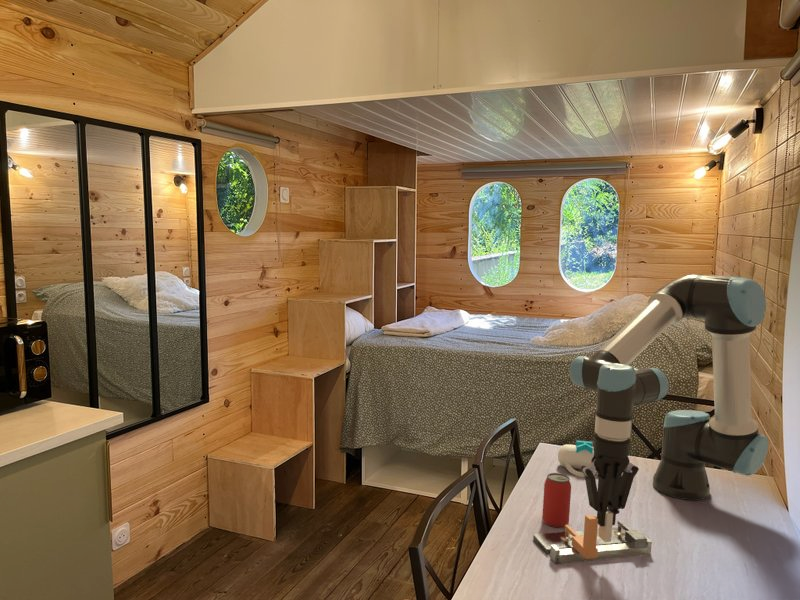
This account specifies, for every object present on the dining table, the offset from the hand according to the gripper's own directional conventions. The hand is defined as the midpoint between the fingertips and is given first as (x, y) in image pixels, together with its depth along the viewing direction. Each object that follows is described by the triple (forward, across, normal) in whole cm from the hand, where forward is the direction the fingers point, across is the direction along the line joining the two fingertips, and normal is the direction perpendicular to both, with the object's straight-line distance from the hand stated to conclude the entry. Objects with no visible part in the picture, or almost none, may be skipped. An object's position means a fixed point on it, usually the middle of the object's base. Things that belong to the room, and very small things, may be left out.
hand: (604, 538), depth 135 cm
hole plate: (+6, -1, -10) cm, 11 cm away
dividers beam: (+6, -1, -6) cm, 9 cm away
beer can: (+6, +1, -20) cm, 21 cm away
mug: (+6, -22, -51) cm, 56 cm away
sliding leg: (+4, +4, -5) cm, 7 cm away
